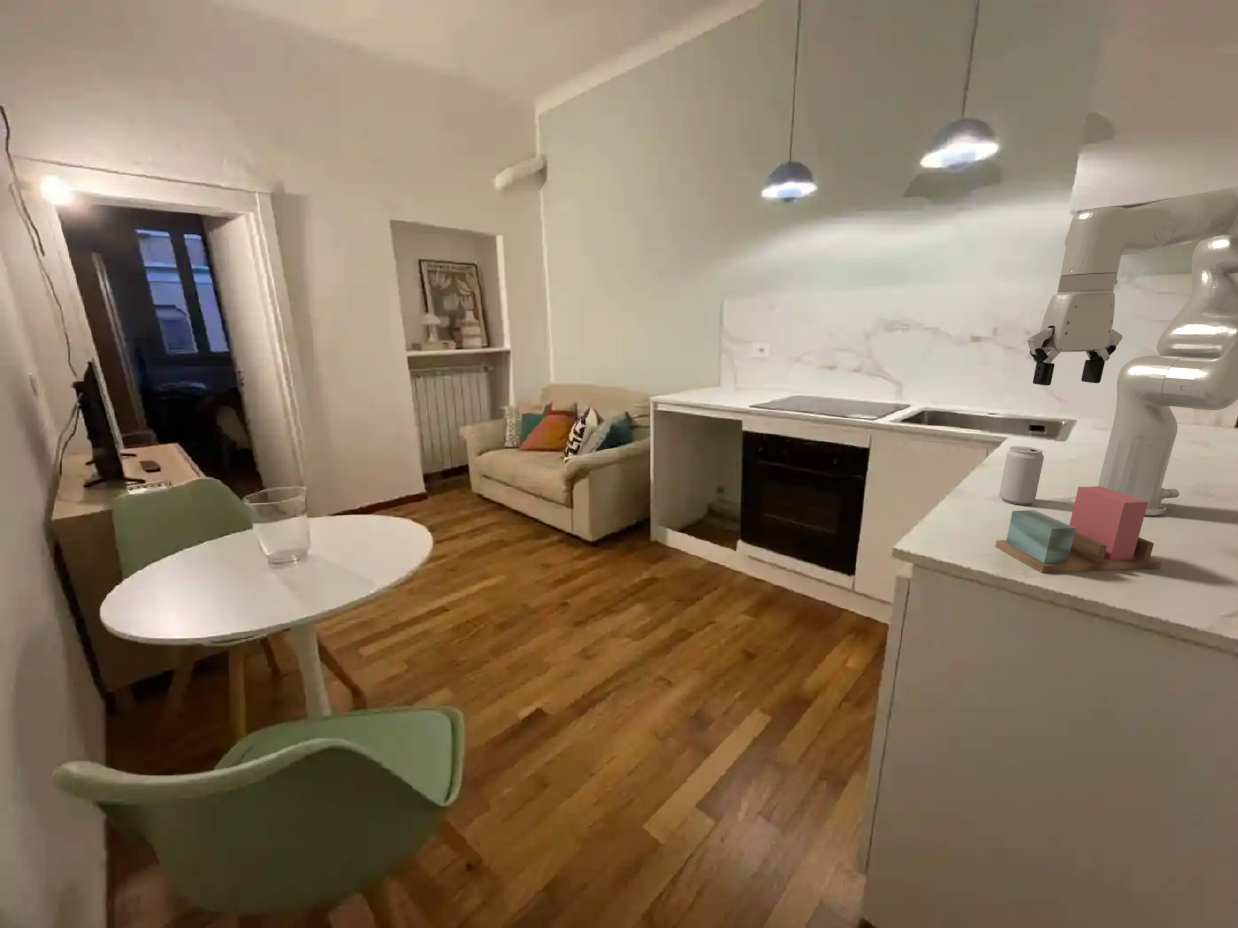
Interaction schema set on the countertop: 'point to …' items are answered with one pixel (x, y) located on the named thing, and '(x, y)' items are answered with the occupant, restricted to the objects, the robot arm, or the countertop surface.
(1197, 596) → the countertop surface
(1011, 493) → the beverage can
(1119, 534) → the dusty red block
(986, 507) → the countertop surface
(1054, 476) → the countertop surface
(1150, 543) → the rack
